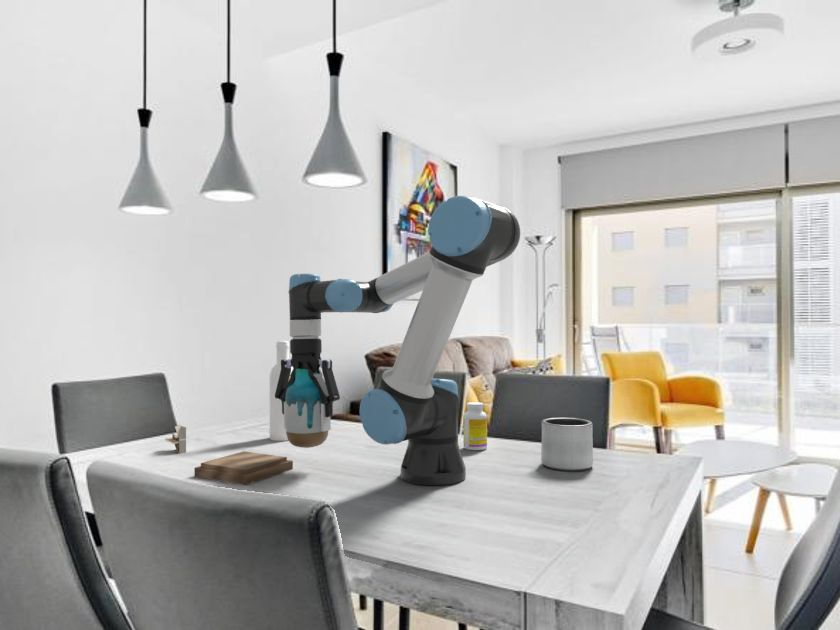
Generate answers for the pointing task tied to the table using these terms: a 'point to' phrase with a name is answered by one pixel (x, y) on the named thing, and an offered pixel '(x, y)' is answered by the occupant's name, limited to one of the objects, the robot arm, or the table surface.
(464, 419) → the supplement bottle
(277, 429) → the bottle
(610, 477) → the table surface
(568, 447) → the planter
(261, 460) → the pedestal
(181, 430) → the architectural model
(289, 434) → the vase
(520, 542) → the table surface
